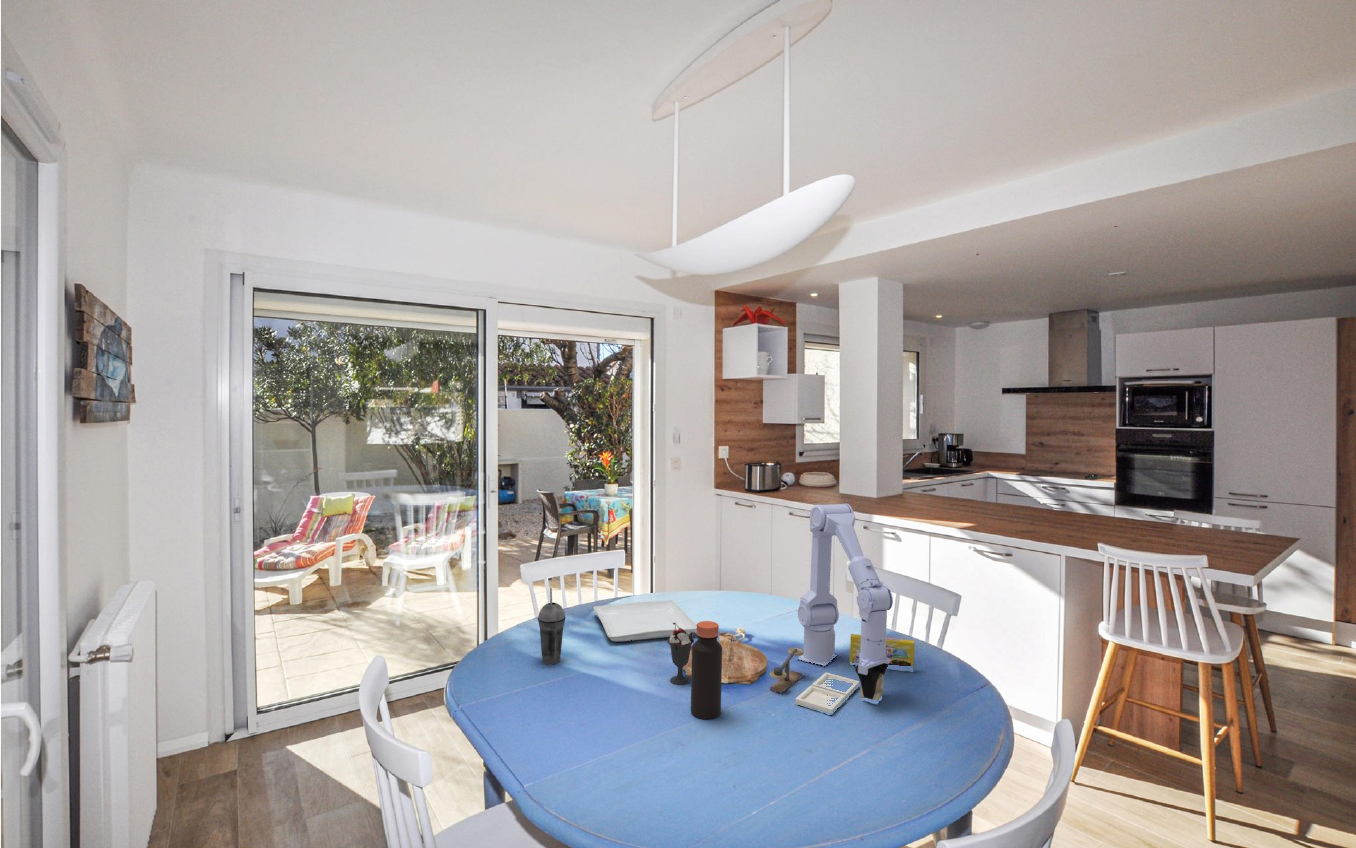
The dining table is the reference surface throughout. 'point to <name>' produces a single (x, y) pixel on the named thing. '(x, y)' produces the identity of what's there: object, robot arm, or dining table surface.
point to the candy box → (887, 650)
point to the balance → (786, 673)
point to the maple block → (876, 689)
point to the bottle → (706, 672)
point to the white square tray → (831, 676)
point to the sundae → (680, 653)
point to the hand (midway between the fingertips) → (871, 694)
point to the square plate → (643, 620)
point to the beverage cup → (551, 631)
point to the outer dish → (819, 699)
